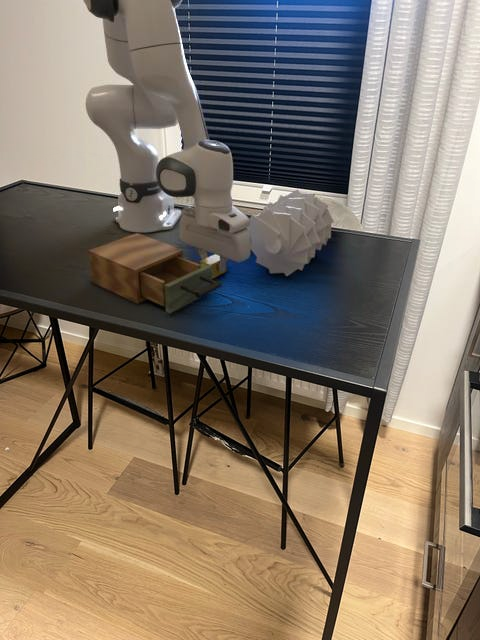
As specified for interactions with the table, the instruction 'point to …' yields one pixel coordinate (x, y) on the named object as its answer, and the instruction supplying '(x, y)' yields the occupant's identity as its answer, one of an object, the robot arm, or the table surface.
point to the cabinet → (128, 263)
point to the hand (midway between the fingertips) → (213, 267)
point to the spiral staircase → (290, 232)
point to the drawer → (176, 282)
